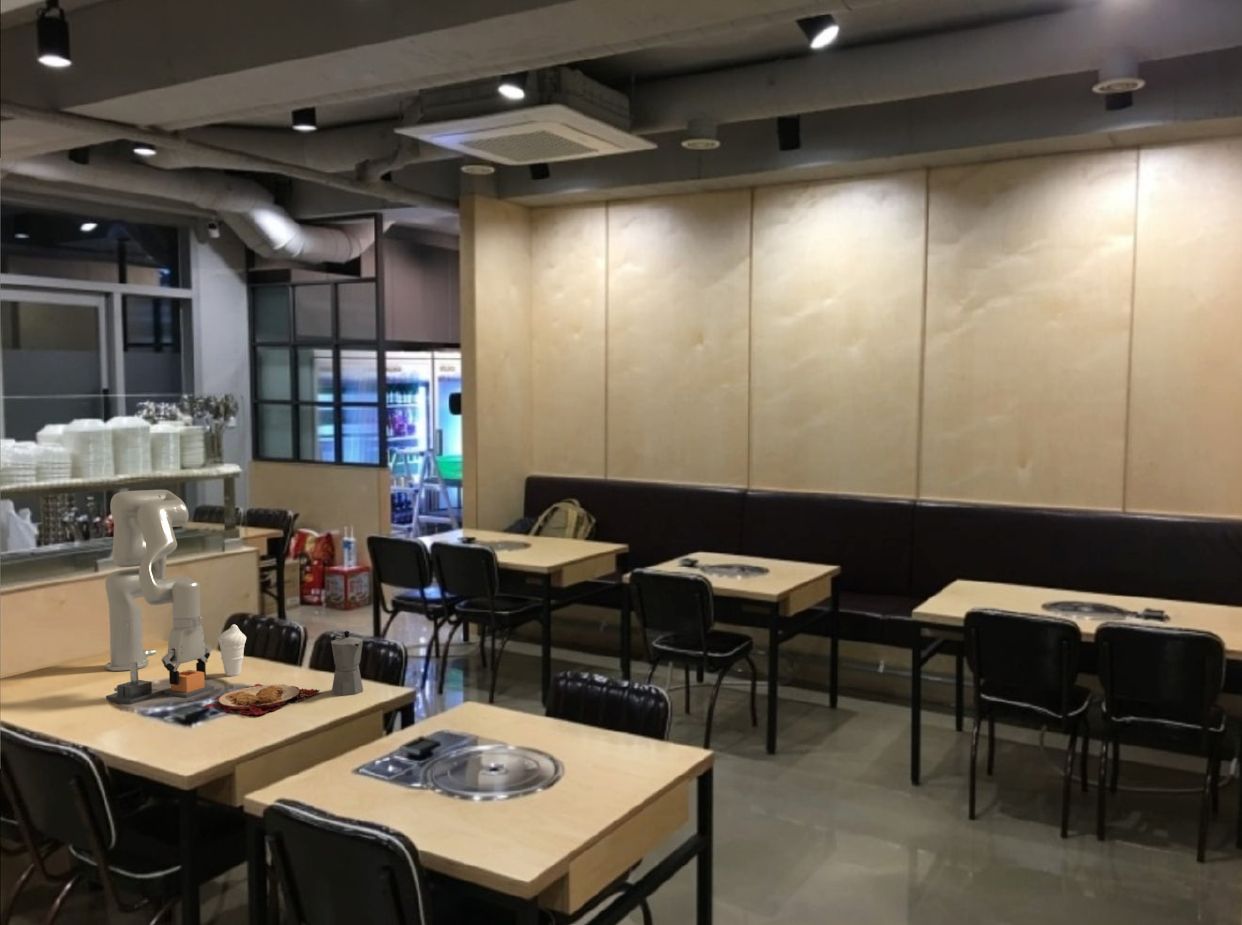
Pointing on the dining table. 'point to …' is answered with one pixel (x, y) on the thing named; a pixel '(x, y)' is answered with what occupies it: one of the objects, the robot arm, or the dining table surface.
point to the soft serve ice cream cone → (232, 650)
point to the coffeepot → (347, 665)
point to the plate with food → (260, 698)
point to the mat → (187, 694)
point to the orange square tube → (189, 681)
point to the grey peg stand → (134, 689)
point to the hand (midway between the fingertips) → (187, 680)
